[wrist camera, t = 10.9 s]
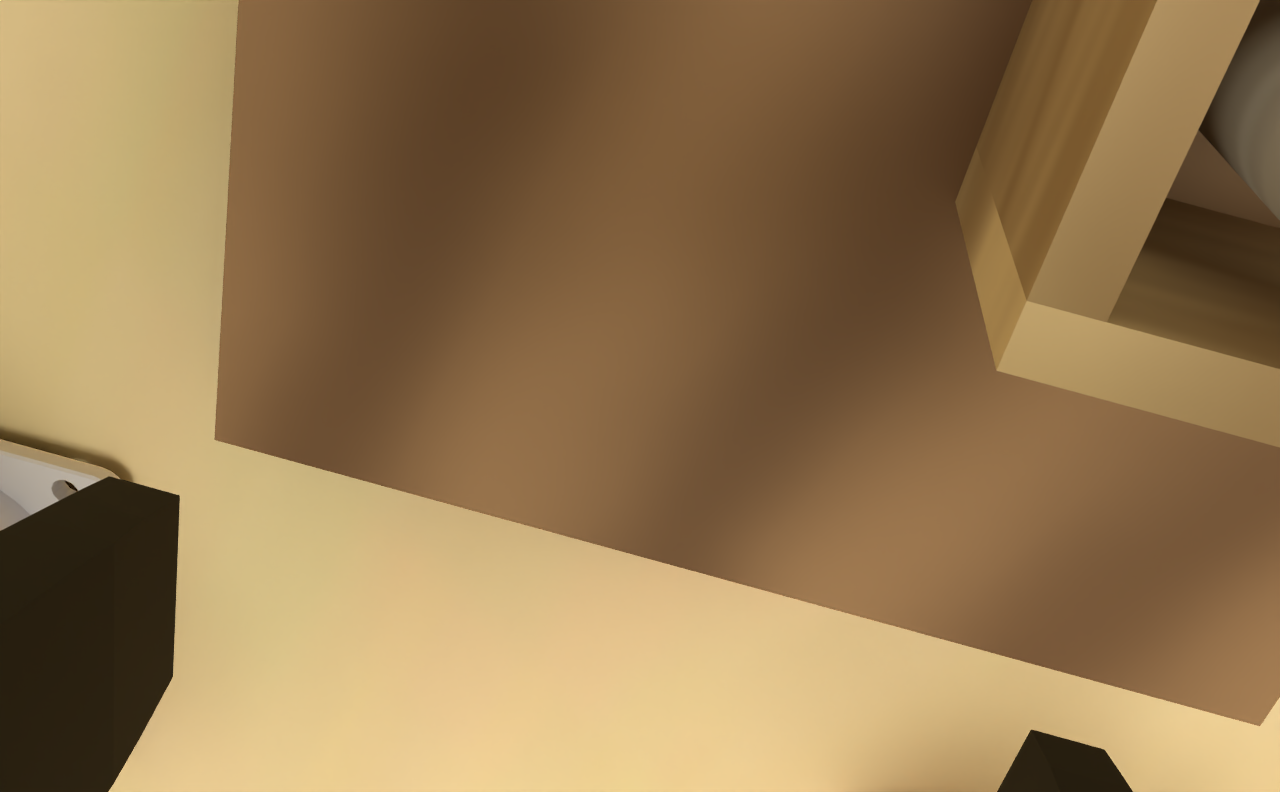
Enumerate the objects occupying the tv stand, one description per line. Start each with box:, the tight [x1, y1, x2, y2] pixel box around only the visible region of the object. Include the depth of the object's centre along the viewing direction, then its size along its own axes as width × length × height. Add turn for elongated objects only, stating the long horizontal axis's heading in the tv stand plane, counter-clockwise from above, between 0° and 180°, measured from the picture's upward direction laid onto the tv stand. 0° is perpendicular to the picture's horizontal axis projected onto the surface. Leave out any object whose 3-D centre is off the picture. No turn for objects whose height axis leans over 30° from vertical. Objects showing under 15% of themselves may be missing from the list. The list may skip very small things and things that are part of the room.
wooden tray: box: [215, 0, 1280, 726], centre depth 15 cm, size 18×14×5 cm
